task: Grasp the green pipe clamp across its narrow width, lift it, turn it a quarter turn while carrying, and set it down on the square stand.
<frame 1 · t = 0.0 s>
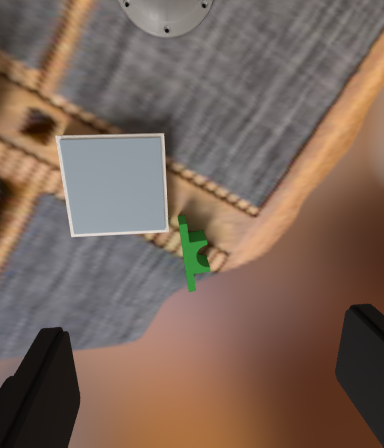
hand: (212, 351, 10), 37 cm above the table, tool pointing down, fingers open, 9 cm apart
stand: (118, 183, 44), on the table
pipe clamp: (192, 246, 49), on the table
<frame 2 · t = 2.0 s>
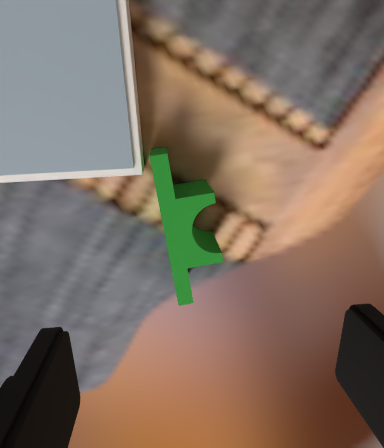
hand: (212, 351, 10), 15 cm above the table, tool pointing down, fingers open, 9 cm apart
stand: (28, 67, 20), on the table
pipe clamp: (185, 214, 25), on the table
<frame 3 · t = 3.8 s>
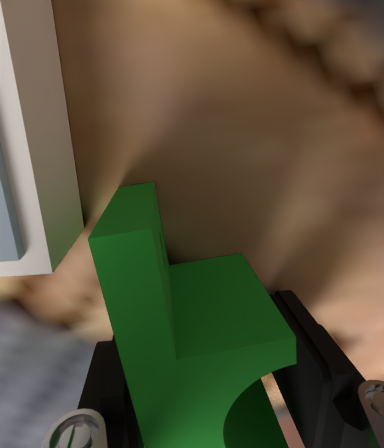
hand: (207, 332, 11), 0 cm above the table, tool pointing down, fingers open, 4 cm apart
pipe clamp: (195, 320, 12), on the table, touching gripper
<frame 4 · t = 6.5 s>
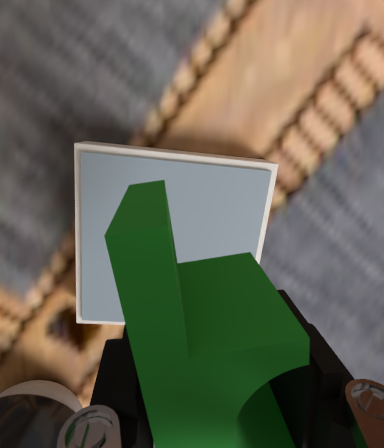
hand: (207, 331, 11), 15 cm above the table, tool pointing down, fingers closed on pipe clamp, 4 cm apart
stand: (170, 234, 25), on the table
pipe clamp: (202, 320, 12), point 14 cm above the table, touching gripper
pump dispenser: (46, 401, 30), on the table
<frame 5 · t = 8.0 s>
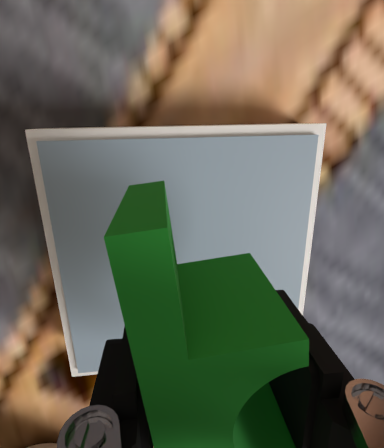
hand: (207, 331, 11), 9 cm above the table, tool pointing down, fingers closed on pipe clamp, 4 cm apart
stand: (182, 241, 19), on the table
pipe clamp: (202, 321, 12), point 8 cm above the table, touching gripper
when the fingers open (5 cm above the table, at t = 9.0 s): pipe clamp stays where it is, resting on stand.
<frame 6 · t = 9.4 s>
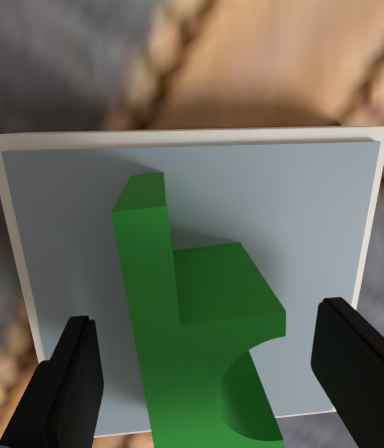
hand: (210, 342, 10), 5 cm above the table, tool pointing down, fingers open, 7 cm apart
stand: (194, 271, 15), on the table
pipe clamp: (194, 305, 12), point 3 cm above the table, touching stand
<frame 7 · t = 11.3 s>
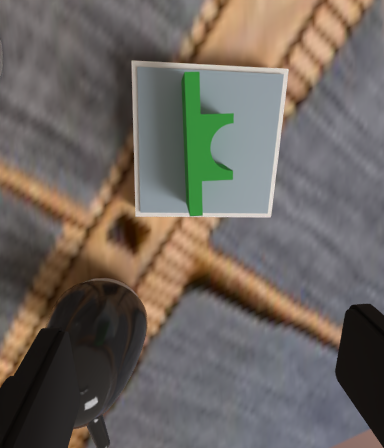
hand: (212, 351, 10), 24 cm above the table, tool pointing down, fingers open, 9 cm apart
stand: (204, 144, 31), on the table
pipe clamp: (202, 146, 28), point 3 cm above the table, touching stand
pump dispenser: (107, 302, 36), on the table
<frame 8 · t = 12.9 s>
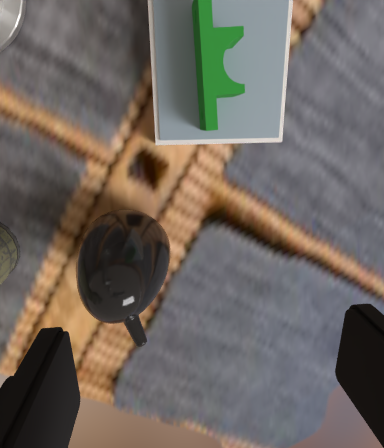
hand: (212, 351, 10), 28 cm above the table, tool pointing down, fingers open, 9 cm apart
stand: (215, 76, 33), on the table
pipe clamp: (213, 71, 30), point 3 cm above the table, touching stand
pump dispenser: (130, 239, 39), on the table
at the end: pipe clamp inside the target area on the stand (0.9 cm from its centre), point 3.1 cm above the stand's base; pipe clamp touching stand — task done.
